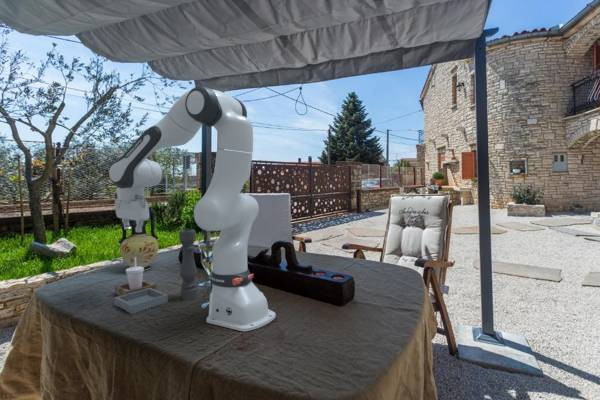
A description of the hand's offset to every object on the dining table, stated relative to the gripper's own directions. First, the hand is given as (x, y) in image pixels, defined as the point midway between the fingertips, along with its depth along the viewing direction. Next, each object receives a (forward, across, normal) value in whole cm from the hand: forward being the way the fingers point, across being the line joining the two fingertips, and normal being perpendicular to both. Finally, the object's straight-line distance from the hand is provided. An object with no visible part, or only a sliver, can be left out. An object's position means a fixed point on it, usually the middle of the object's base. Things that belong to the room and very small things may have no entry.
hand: (132, 230), depth 124 cm
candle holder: (+24, -21, -10) cm, 34 cm away
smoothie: (+25, 0, 0) cm, 25 cm away
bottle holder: (+24, 0, 0) cm, 24 cm away
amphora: (+25, +32, -17) cm, 44 cm away
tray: (+24, -13, +4) cm, 28 cm away
